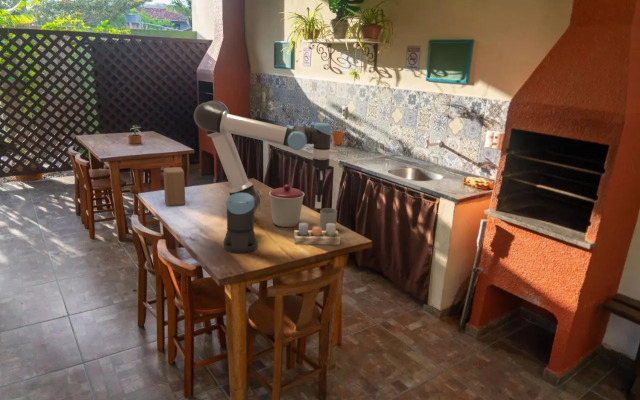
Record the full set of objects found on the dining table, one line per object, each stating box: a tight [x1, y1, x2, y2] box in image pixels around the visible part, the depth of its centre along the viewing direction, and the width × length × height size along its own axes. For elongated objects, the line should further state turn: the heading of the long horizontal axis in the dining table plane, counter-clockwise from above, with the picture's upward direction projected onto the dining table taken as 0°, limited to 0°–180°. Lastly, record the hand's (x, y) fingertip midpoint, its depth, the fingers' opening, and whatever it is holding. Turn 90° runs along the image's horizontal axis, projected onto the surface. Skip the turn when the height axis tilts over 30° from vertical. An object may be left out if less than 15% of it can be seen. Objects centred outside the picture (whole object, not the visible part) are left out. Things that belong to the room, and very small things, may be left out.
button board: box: [293, 229, 341, 245], centre depth 213 cm, size 21×10×3 cm, turn 96°
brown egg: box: [311, 225, 322, 236], centre depth 212 cm, size 4×4×5 cm
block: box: [163, 166, 186, 207], centre depth 253 cm, size 10×10×20 cm
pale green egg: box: [326, 223, 337, 236], centre depth 213 cm, size 4×4×5 cm
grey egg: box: [298, 222, 309, 236], centre depth 211 cm, size 4×4×5 cm
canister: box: [268, 184, 305, 228], centre depth 230 cm, size 18×18×21 cm
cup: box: [319, 207, 338, 231], centre depth 227 cm, size 8×8×10 cm
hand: (318, 207), depth 209 cm, fingers closed
